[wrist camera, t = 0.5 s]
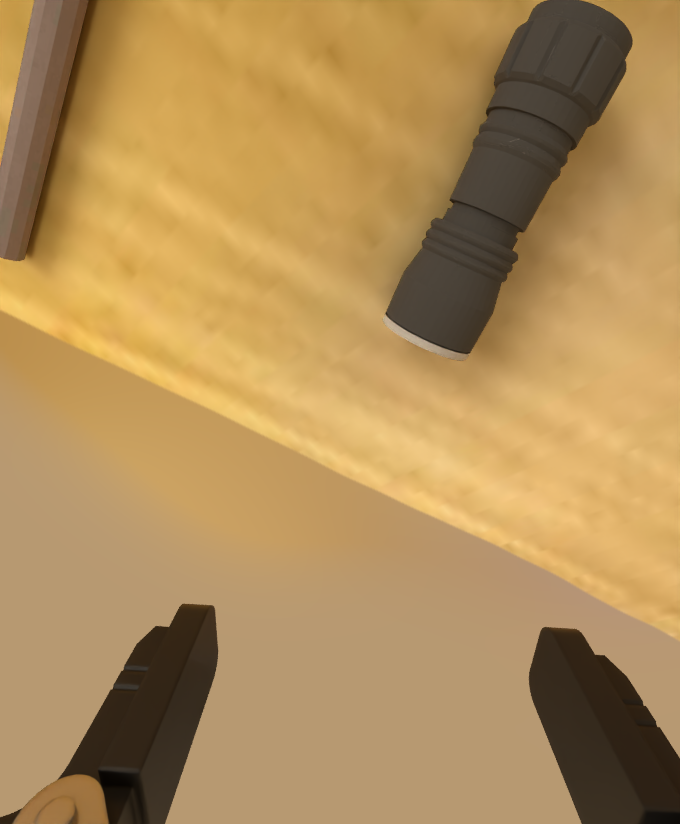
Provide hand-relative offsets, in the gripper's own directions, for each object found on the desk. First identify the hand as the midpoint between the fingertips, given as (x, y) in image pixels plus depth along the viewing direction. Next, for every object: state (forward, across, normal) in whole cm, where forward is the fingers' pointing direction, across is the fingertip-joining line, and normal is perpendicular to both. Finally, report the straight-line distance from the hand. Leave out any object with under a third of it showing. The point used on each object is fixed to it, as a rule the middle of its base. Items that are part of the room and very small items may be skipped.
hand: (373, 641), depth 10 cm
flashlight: (+19, -6, -12) cm, 23 cm away
